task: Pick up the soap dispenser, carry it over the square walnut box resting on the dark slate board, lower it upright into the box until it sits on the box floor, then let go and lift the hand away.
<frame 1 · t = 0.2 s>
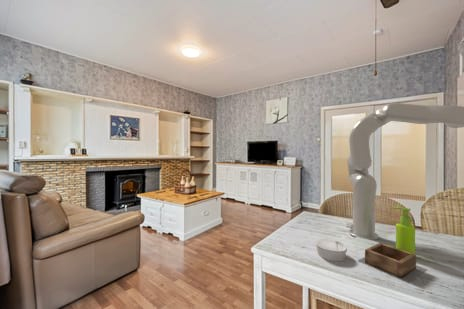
walnut box: (389, 265, 77), point 1 cm above the table, touching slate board
ramekin: (330, 258, 85), on the table
soap dispenser: (403, 257, 85), on the table
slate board: (391, 267, 77), on the table
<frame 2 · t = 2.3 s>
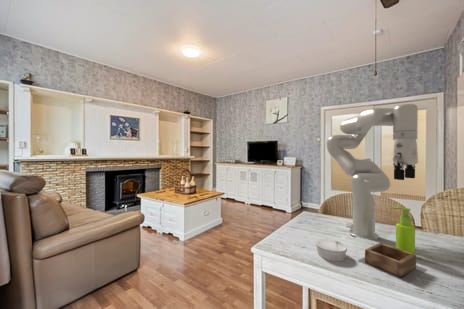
hand: (404, 178, 84), 32 cm above the table, tool pointing down, fingers open, 9 cm apart
nothing on the table moved.
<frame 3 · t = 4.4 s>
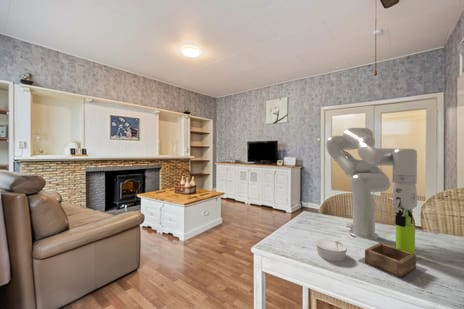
hand: (403, 224, 85), 14 cm above the table, tool pointing down, fingers closed on soap dispenser, 5 cm apart
soap dispenser: (403, 257, 85), on the table, touching gripper
everything else where it was.
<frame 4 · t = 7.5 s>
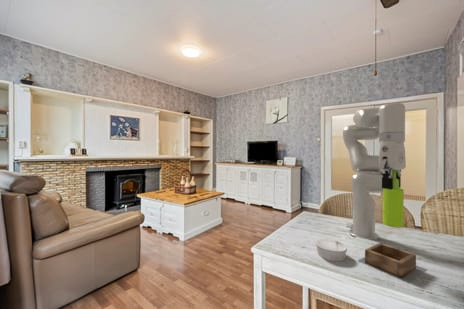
hand: (391, 187, 77), 30 cm above the table, tool pointing down, fingers closed on soap dispenser, 5 cm apart
soap dispenser: (391, 225, 77), point 16 cm above the table, touching gripper
everything else where it was.
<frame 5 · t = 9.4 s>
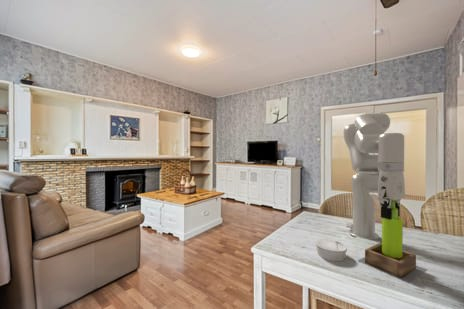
hand: (390, 216, 76), 19 cm above the table, tool pointing down, fingers closed on soap dispenser, 5 cm apart
soap dispenser: (390, 254, 77), point 5 cm above the table, touching gripper
everything else where it was.
when the fingers open (17 cm above the table, at t = 10.7 s): soap dispenser drops 1 cm, resting on walnut box.
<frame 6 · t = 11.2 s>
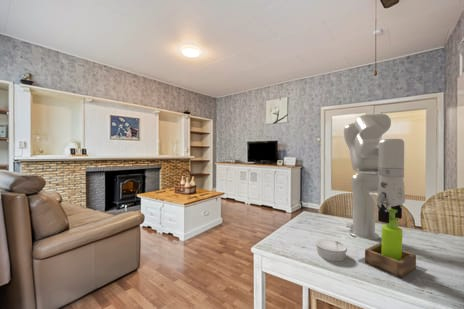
hand: (390, 219, 76), 18 cm above the table, tool pointing down, fingers open, 9 cm apart
walnut box: (389, 265, 77), point 1 cm above the table, touching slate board, soap dispenser
soap dispenser: (389, 263, 77), point 2 cm above the table, touching walnut box
everything else where it was.
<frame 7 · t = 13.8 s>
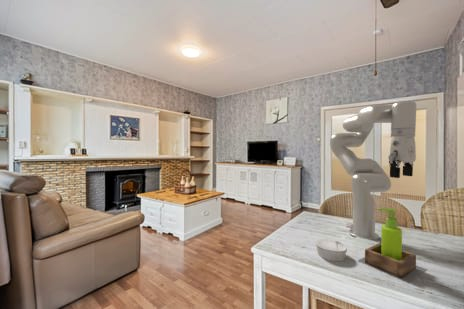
hand: (401, 176, 84), 33 cm above the table, tool pointing down, fingers open, 9 cm apart
nothing on the table moved.
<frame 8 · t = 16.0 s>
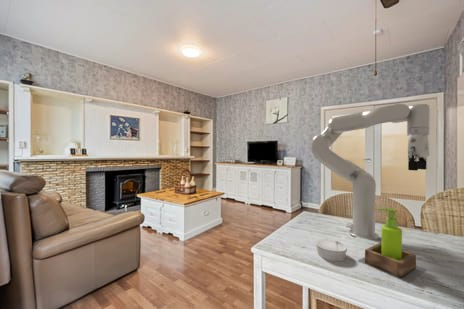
hand: (417, 169, 96), 34 cm above the table, tool pointing down, fingers open, 9 cm apart
nothing on the table moved.
at the end: soap dispenser 0.2 cm from the walnut box (horizontally); soap dispenser point 1.6 cm above the table; soap dispenser tilted 0° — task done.
